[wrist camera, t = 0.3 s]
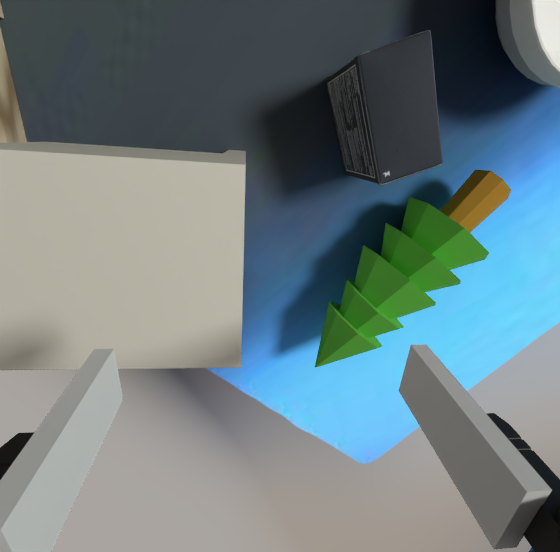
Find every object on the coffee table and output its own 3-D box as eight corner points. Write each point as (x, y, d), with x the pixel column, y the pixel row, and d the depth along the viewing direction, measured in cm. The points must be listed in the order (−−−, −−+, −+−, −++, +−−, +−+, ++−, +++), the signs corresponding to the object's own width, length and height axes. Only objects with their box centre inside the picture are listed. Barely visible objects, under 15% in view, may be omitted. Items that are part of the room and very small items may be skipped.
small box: (396, 158, 38) (447, 166, 28) (344, 176, 38) (377, 189, 28) (381, 57, 33) (436, 25, 24) (323, 78, 34) (353, 54, 24)
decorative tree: (567, 210, 29) (348, 420, 36) (503, 216, 40) (345, 375, 47) (470, 132, 30) (272, 353, 36) (434, 160, 41) (287, 325, 47)
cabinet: (76, 139, 34) (-126, 141, 15) (245, 151, 36) (245, 165, 17) (97, 262, 39) (-33, 370, 21) (243, 265, 41) (241, 367, 23)
